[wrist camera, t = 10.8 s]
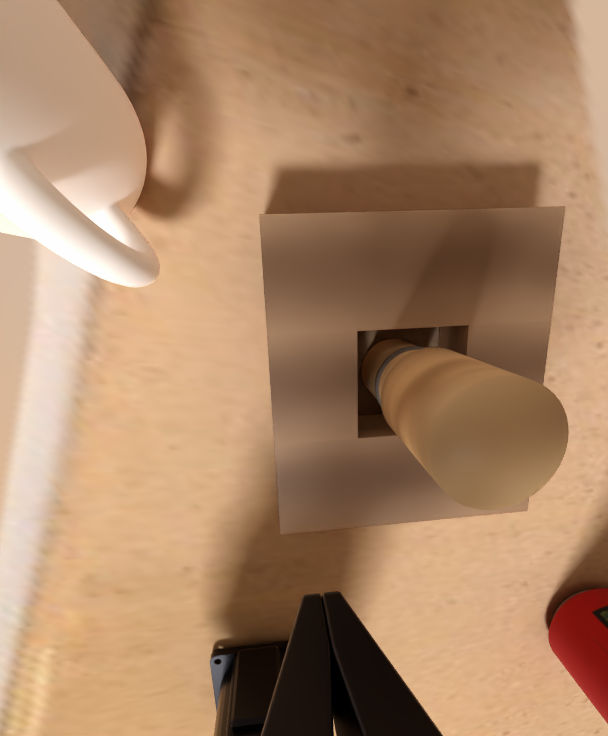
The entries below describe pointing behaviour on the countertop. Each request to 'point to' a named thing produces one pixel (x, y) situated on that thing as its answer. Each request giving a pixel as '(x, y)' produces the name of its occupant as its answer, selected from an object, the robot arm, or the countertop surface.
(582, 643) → the beverage can
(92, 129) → the mug
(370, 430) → the board
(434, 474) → the peg
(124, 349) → the countertop surface
